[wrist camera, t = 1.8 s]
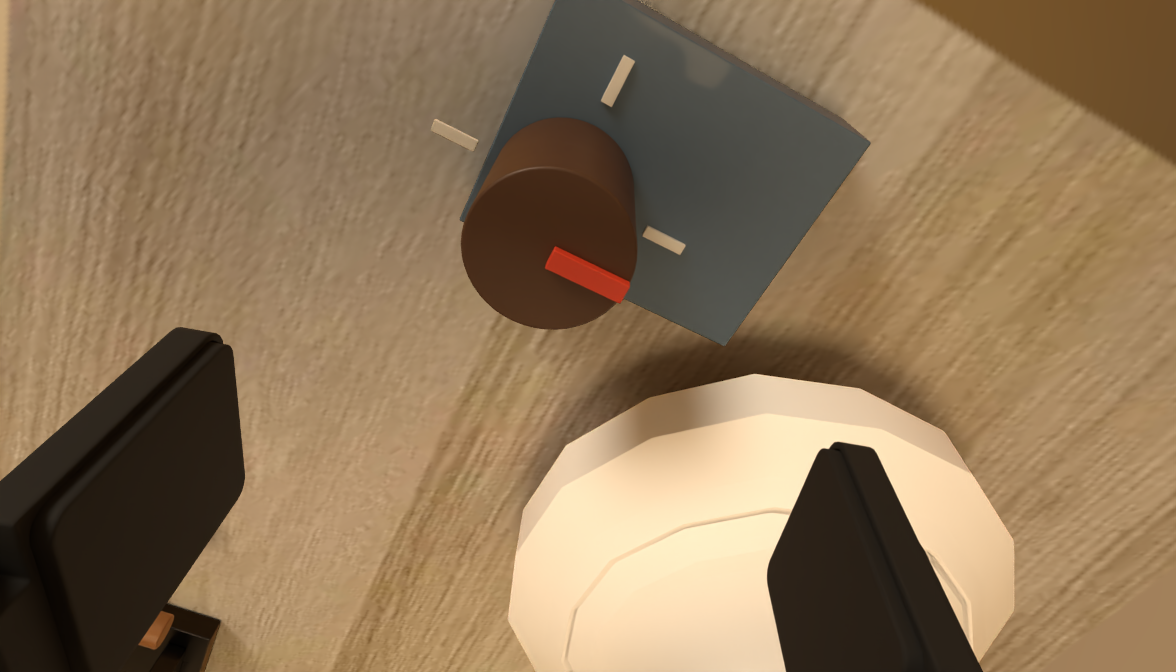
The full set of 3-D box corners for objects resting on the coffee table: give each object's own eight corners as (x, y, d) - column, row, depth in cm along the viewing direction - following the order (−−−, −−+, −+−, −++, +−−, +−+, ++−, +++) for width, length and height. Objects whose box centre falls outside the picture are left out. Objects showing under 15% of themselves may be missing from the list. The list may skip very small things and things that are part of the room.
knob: (470, 217, 22) (432, 292, 18) (527, 89, 20) (500, 136, 16) (593, 276, 23) (587, 362, 19) (659, 159, 21) (671, 222, 16)
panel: (411, 210, 25) (386, 244, 23) (520, -67, 21) (506, -67, 18) (690, 342, 28) (698, 387, 25) (843, 119, 23) (873, 144, 20)
